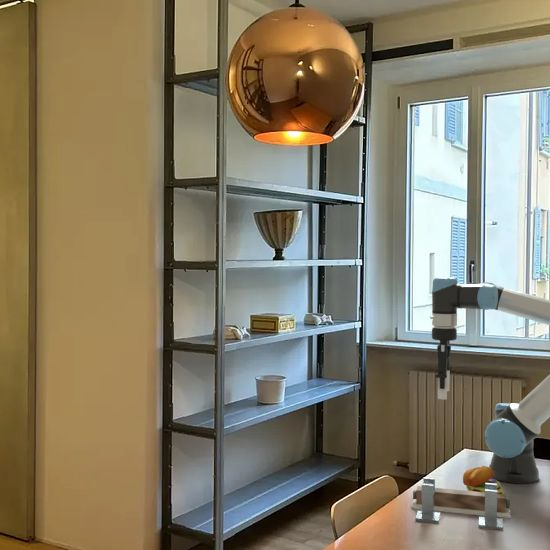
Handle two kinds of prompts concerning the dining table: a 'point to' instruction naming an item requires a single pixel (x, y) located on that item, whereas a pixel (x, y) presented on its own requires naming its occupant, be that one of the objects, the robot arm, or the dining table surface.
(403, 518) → the dining table surface
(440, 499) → the rail
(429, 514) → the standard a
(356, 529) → the dining table surface
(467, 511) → the white plank
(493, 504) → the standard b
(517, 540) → the dining table surface
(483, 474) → the cheeseburger
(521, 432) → the robot arm
